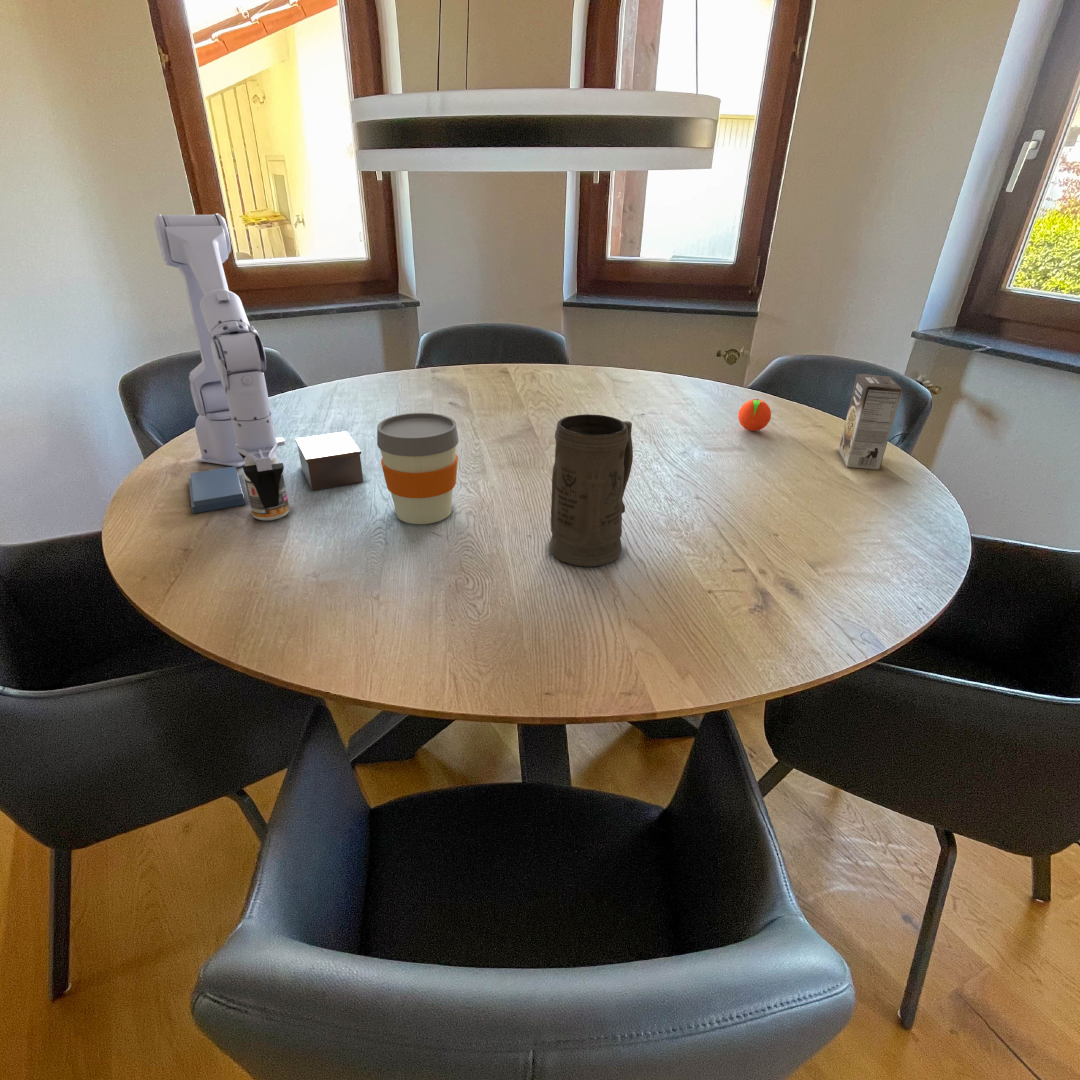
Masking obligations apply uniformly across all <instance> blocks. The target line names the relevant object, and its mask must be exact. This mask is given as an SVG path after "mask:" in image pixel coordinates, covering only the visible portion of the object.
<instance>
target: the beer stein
mask: <svg viewBox="0 0 1080 1080" xmlns="http://www.w3.org/2000/svg"><path fill="white" fill-rule="evenodd" d="M632 429H633V423H632V422H631V421H628V420H625V421H623V420H621V419H618V418H616V417H614V416H609V415H602V414H589V413H584V414H575V415H568V416H565V417H563V418H560V419H559V420H558V421H557V423H556V427H555V432H554V439H555V449H554V463H553V465H552V474H551V499H550V503H551V504H550V532H551V537H550V541H549V550H550V553H551V554H552V555H553V557H555V558H556V559H557V560H559V561H561V562H563V563H566V564H570V565H573V566H578V567H598V566H603V565H607V564H610V563H612V562H614V561H616V560H617V559H618V558H619V557H620V556H621V554H622V548H623V547H622V540H621V537H622V534H623V517H622V516H623V514H625V512H626V505H625V503H624V501H623V499H624V495H625V492H626V488H627V484H628V482H629V478H630V475H631V471H632V466H633V460H634V448H633V447H634V446H633V439H632V438H633V437H632Z"/></svg>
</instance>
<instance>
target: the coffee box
mask: <svg viewBox="0 0 1080 1080" xmlns="http://www.w3.org/2000/svg"><path fill="white" fill-rule="evenodd" d="M853 385H854V386H853V389H852V393H851V398H850V402H849V406H848V411H847V414H846V417H845V418H846V419H845V421H844V422H845V423H844V426H843V431H842V435H841V439H840V444H839V448H838V453H839V455H840V456H841V458H842V461H843V462H844V463H845V466H846V468H855V469H868V470H877V471H878V470H880V469H881V465H882V462H883V459H884V455H885V452H886V449H887V445H888V442H889V438H890V435H891V431H892V428H893V426H894V425H893V424H894V421H895V419H896V415H897V411H898V407H899V404H900V400H901V397H902V393H903V390H904V389H903V388H902V386H900V385H899V384H898V383H897V381H895V380H894V379H893V378H892V377H891V376H890V375H889V376H888V375H877V374H866V373H865V374H864V373H857V374H856V376H855V380H854V384H853Z"/></svg>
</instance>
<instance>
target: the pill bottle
mask: <svg viewBox="0 0 1080 1080" xmlns="http://www.w3.org/2000/svg"><path fill="white" fill-rule="evenodd" d="M270 460H271V464H278V459H277V455H276V454H275V453H274V454H273V456H272V457H271V459H270ZM244 462H245V465H244V466H250V465H256V462H255V461H253V460H252V459H250V458H248V457H245V458H244ZM243 478H244V484H245V487H246V492H247V497H248V502H249V506H250V510H251V515H252V516H253V518H255V519H256V520H259V521H274V520H278V519H281V518H284V517H285V516H287V515H288V514H289V512H290V504H289V499H288V494H287V493H288V492H287V487H286V482H285V476H284V472H283V473H282V475H281V479H280V484H279V504H278V506H275V507H270V508H264V506H263V504H262V502H261V500H260V498H259V495H258V493H257V490H256V488H255V486H254V485H253V483H252V482H251V481H250V479H249V478H248V477H247V476H246V475H245V474H244V475H243Z"/></svg>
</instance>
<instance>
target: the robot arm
mask: <svg viewBox="0 0 1080 1080" xmlns="http://www.w3.org/2000/svg"><path fill="white" fill-rule="evenodd" d="M153 222H154V228H155V234H156V237H157V241H158V245H159V248H160V252H161V257H162V260H163V261H164V262H165V263H164V264H165V265H166V266H168V267H174V268H177V269H178V271H179V273H180V274H181V276H182V278H183V281H184V285H185V290H186V294H187V298H188V303H189V307H190V313H191V317H192V321H193V326H194V331H195V334H196V339H197V344H198V348H199V352H200V358H201V362H200V363H199V364H198V365H197V366H196V367H194V369H192V370H191V371H190V372H189V375H188V380H189V384H190V385H189V387H190V393H191V396H192V401H193V404H194V407H195V411H196V413H197V414H198V415H197V417H196V420H195V423H194V431H195V434H196V438H197V443H198V446H199V451H200V454H201V457H200V458H198V461H199V462H201V463H209V464H214V465H221V466H227V467H236V468H241V467H242V470H243V473H244V475H246V476H247V477H248V478H249V479H250V481H251V482H252V483H253V485H254V486H255V488H256V490H257V493H258V495H259V498H260V500H261V502H262V504H263V506H264V508H270V507H275V506H278V504H279V484H280V479H281V475H282V473H283V474H284V469H285V467H284V466H285V465H284V464H283V462H279V463H278V462H277V464H271V460H270V459H271V457H272V456H273V454H275V452H276V451H277V449H278V448H279V447H281V446H285V445H286V440H285V438H284V437H277V435H276V431H275V426H274V419H273V415H272V409H271V404H270V399H269V393H268V388H267V382H266V378H265V373H264V372H266V371H267V356H266V351H265V348H264V343H263V341H262V339H261V336H260V335H259V332H258V331H257V330H256V328H255V327H254V326H253V325H250V322H249V319H248V317H247V316H248V315H247V314H246V310H245V308H244V305H243V302H242V300H241V298H240V296H239V295H237V294H236V293H235V292H233V291H231V290H229V285H228V282H227V277H226V274H225V270H224V265H223V264H224V263H225V262H226V261H227V260H228V259H229V255H230V254H231V252H232V245H231V238H230V237H231V236H230V233H229V229H228V225H227V223H226V219H225V218H224V217H223V216H222V215H221V213H214V214H161V213H157V214H156V215H155V217H154V218H153ZM245 457H248V458H250V459H252V460H253V461H255V462H256V465H250V466H245V462H244V458H245Z"/></svg>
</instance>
